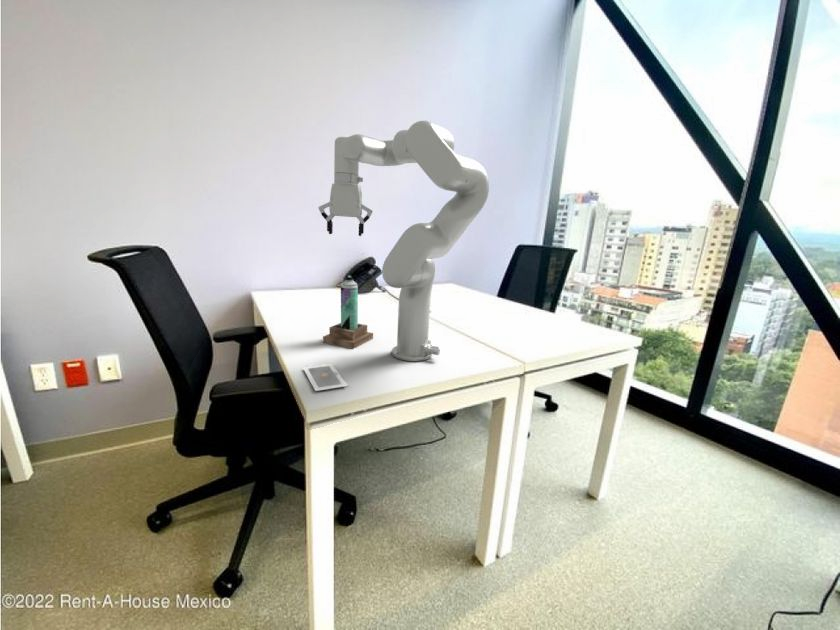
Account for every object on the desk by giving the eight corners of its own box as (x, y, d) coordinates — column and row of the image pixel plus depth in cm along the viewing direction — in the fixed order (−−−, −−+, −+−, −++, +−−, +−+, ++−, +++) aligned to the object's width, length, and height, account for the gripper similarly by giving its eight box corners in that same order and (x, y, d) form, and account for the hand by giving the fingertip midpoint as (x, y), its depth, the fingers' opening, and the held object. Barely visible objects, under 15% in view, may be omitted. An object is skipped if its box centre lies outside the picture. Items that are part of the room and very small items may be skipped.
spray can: (351, 331, 130) (351, 274, 125) (360, 335, 126) (361, 276, 121) (337, 334, 126) (337, 275, 121) (347, 338, 122) (347, 277, 117)
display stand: (373, 338, 130) (373, 324, 128) (354, 348, 119) (354, 333, 118) (343, 332, 134) (343, 319, 133) (323, 342, 123) (322, 327, 122)
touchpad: (315, 395, 89) (315, 386, 88) (303, 371, 101) (302, 363, 101) (347, 389, 92) (347, 381, 92) (331, 367, 105) (331, 360, 104)
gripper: (374, 183, 123) (372, 235, 128) (320, 179, 122) (321, 232, 126) (372, 181, 116) (371, 237, 121) (316, 177, 115) (316, 233, 119)
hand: (345, 234), depth 124 cm, fingers open, 9 cm apart
